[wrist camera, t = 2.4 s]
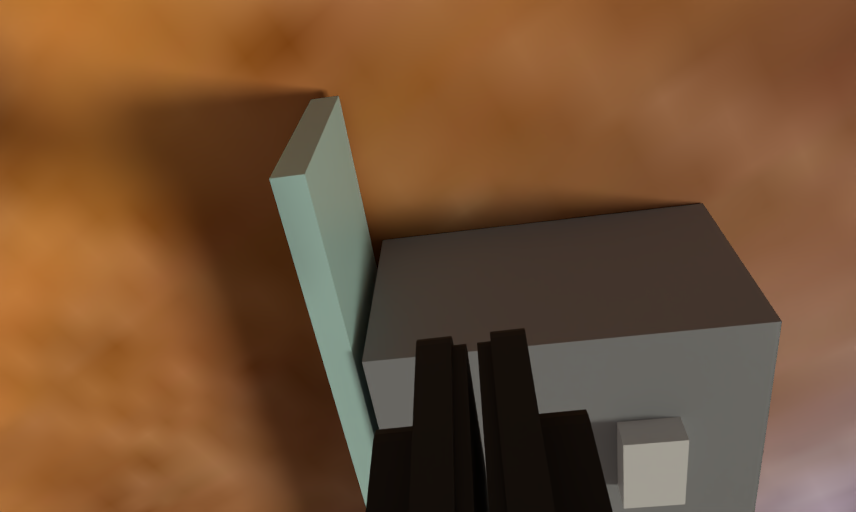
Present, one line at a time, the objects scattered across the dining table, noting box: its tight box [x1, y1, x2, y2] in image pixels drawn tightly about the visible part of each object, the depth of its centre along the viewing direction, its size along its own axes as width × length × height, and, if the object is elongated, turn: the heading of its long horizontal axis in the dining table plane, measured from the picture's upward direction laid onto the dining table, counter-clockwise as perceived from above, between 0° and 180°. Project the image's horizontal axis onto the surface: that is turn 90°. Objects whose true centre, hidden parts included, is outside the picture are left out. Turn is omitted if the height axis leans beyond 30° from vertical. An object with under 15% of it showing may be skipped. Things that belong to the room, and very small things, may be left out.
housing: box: [362, 203, 782, 512], centre depth 23 cm, size 15×10×7 cm, turn 9°
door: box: [269, 96, 379, 505], centre depth 22 cm, size 19×1×5 cm, turn 9°
